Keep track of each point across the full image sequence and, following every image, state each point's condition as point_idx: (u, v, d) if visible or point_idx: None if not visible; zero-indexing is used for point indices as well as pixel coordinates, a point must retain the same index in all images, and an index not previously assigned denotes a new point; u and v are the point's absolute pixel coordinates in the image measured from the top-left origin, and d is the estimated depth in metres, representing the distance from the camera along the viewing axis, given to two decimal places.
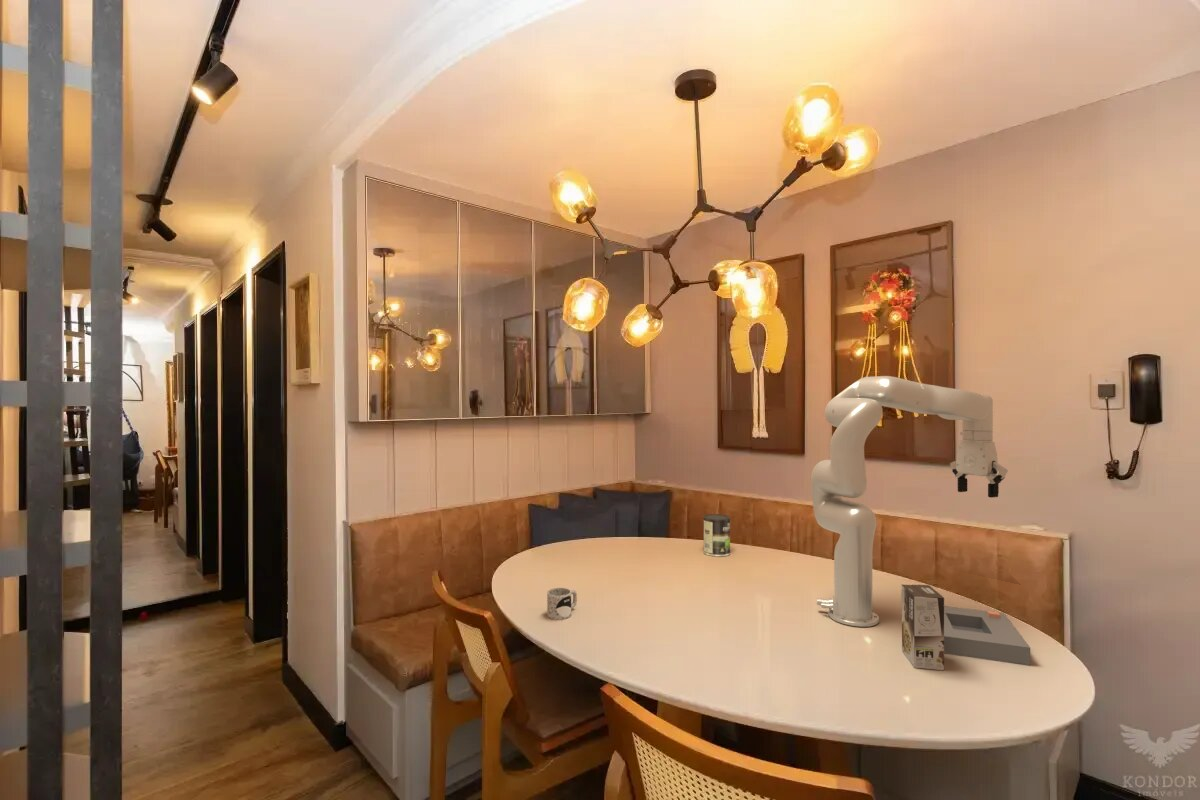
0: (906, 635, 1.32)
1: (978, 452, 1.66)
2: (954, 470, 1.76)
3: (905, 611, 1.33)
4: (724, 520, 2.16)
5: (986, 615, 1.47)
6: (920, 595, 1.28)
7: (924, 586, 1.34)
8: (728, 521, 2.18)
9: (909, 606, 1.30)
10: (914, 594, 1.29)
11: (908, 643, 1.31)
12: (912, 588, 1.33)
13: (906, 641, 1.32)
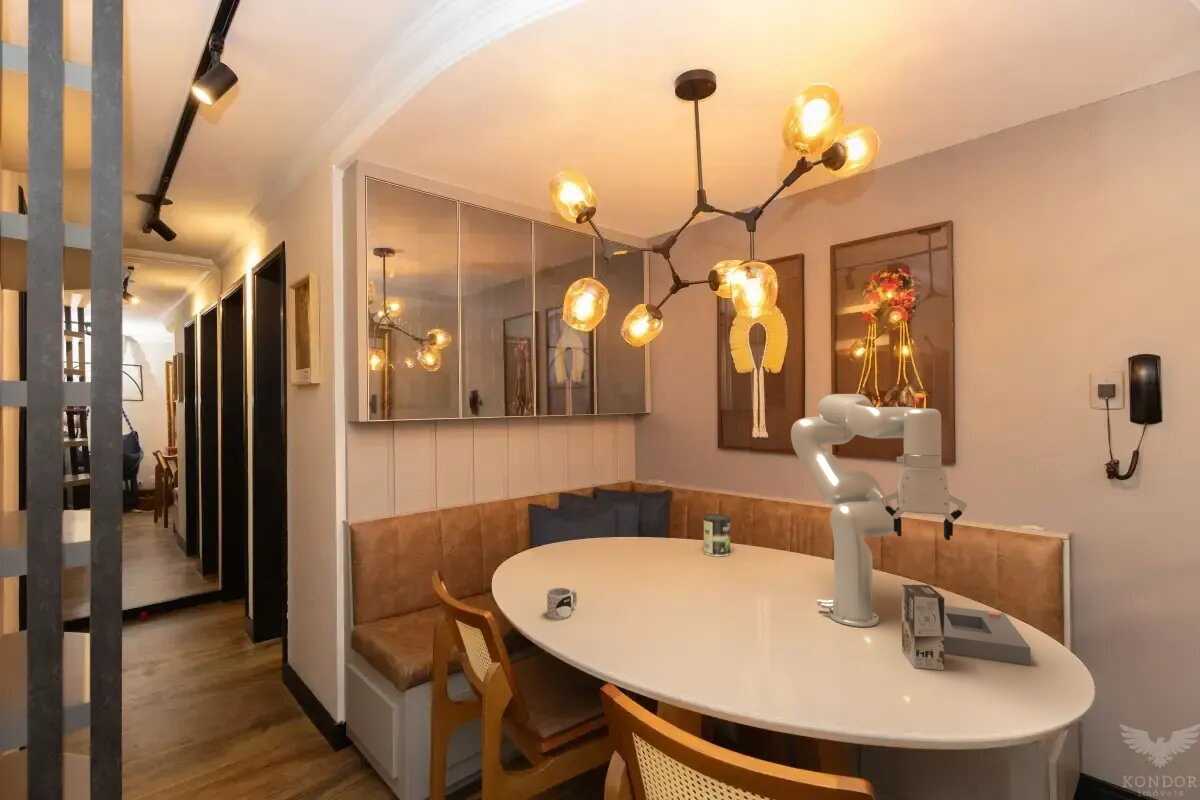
0: (906, 635, 1.32)
1: (937, 483, 1.27)
2: (889, 508, 1.33)
3: (905, 611, 1.33)
4: (724, 520, 2.16)
5: (986, 615, 1.47)
6: (920, 595, 1.28)
7: (924, 586, 1.34)
8: (728, 521, 2.18)
9: (909, 606, 1.30)
10: (914, 594, 1.29)
11: (908, 643, 1.31)
12: (912, 588, 1.33)
13: (906, 641, 1.32)
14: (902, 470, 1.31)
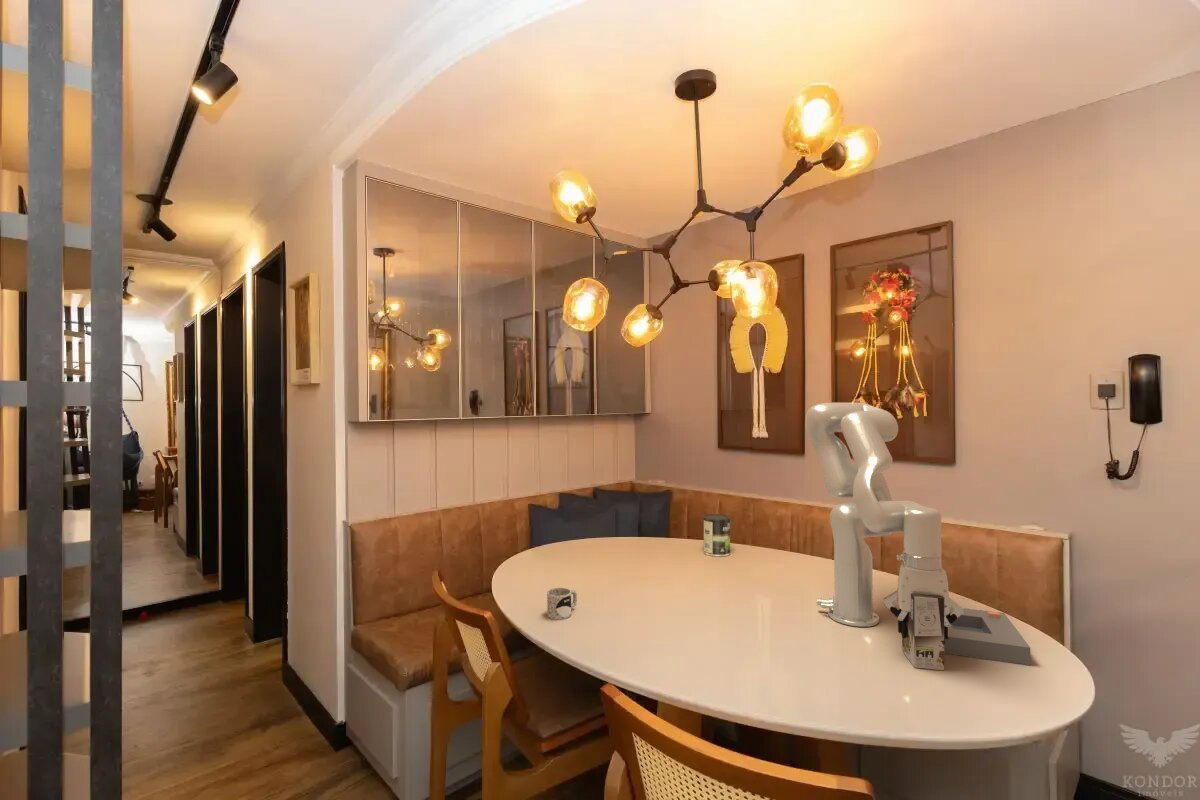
0: (906, 635, 1.32)
1: (937, 585, 1.28)
2: (893, 609, 1.33)
3: None
4: (724, 520, 2.16)
5: (986, 615, 1.47)
6: (920, 595, 1.28)
7: None
8: (728, 521, 2.18)
9: None
10: (915, 594, 1.29)
11: (908, 643, 1.31)
12: None
13: (906, 641, 1.32)
14: (902, 569, 1.31)
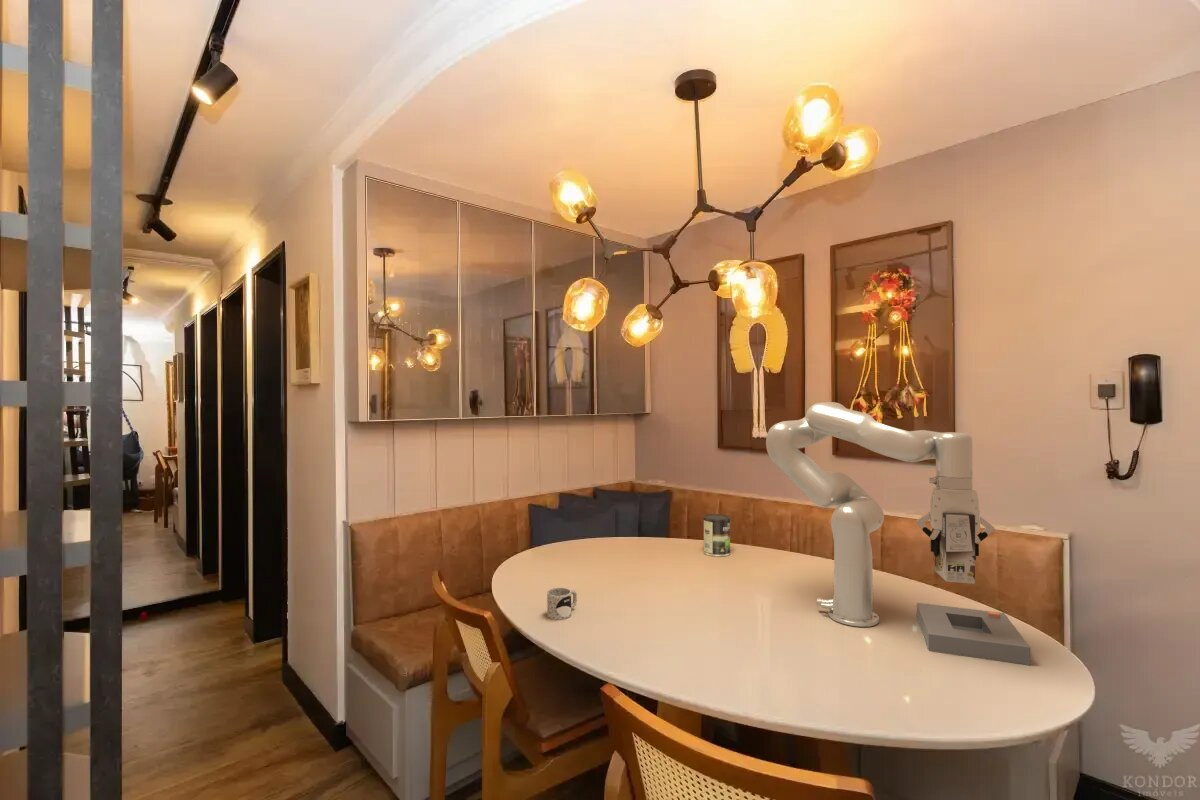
0: (939, 554, 1.39)
1: (968, 504, 1.35)
2: (926, 529, 1.40)
3: None
4: (724, 520, 2.16)
5: (986, 615, 1.47)
6: (952, 513, 1.35)
7: None
8: (728, 521, 2.18)
9: None
10: (946, 513, 1.36)
11: (940, 561, 1.38)
12: None
13: (939, 560, 1.39)
14: (934, 491, 1.38)
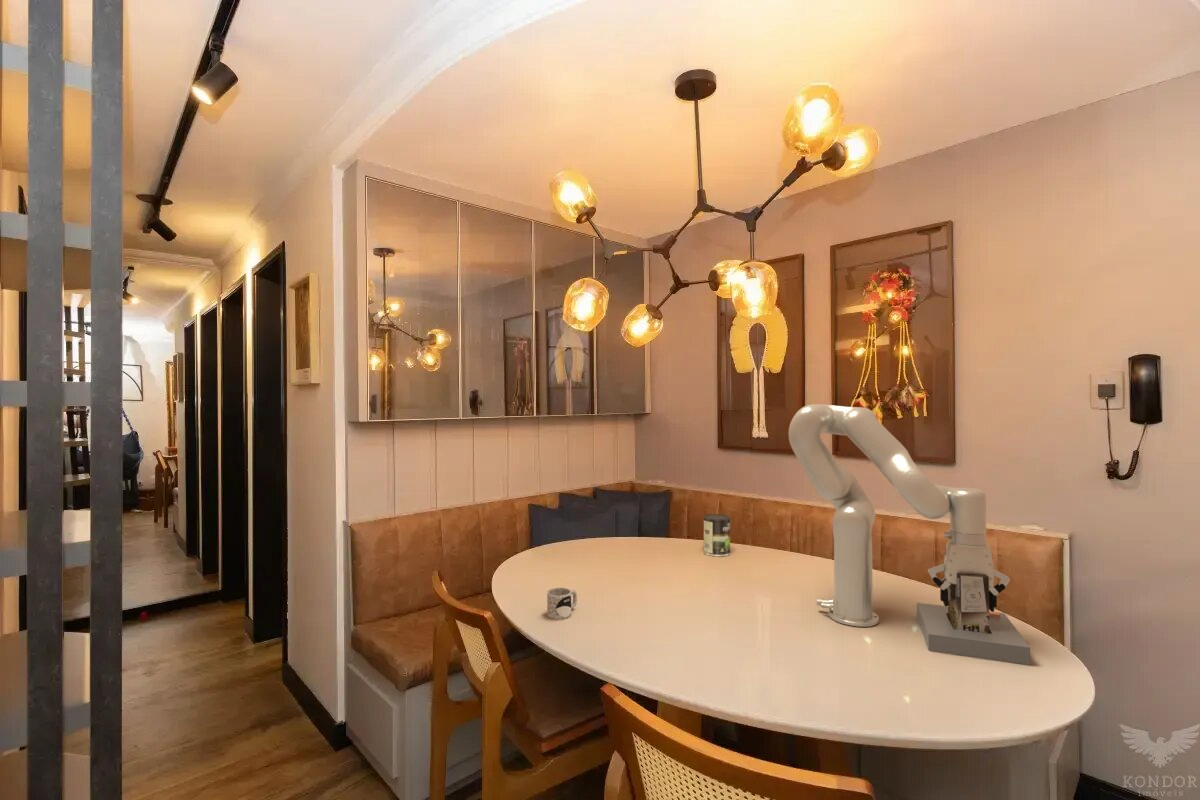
0: (953, 612, 1.43)
1: (982, 559, 1.39)
2: (936, 579, 1.44)
3: (951, 590, 1.44)
4: (724, 520, 2.16)
5: None
6: (966, 574, 1.39)
7: None
8: (728, 521, 2.18)
9: (955, 585, 1.41)
10: (960, 573, 1.40)
11: (955, 619, 1.42)
12: None
13: (953, 618, 1.43)
14: (949, 545, 1.42)
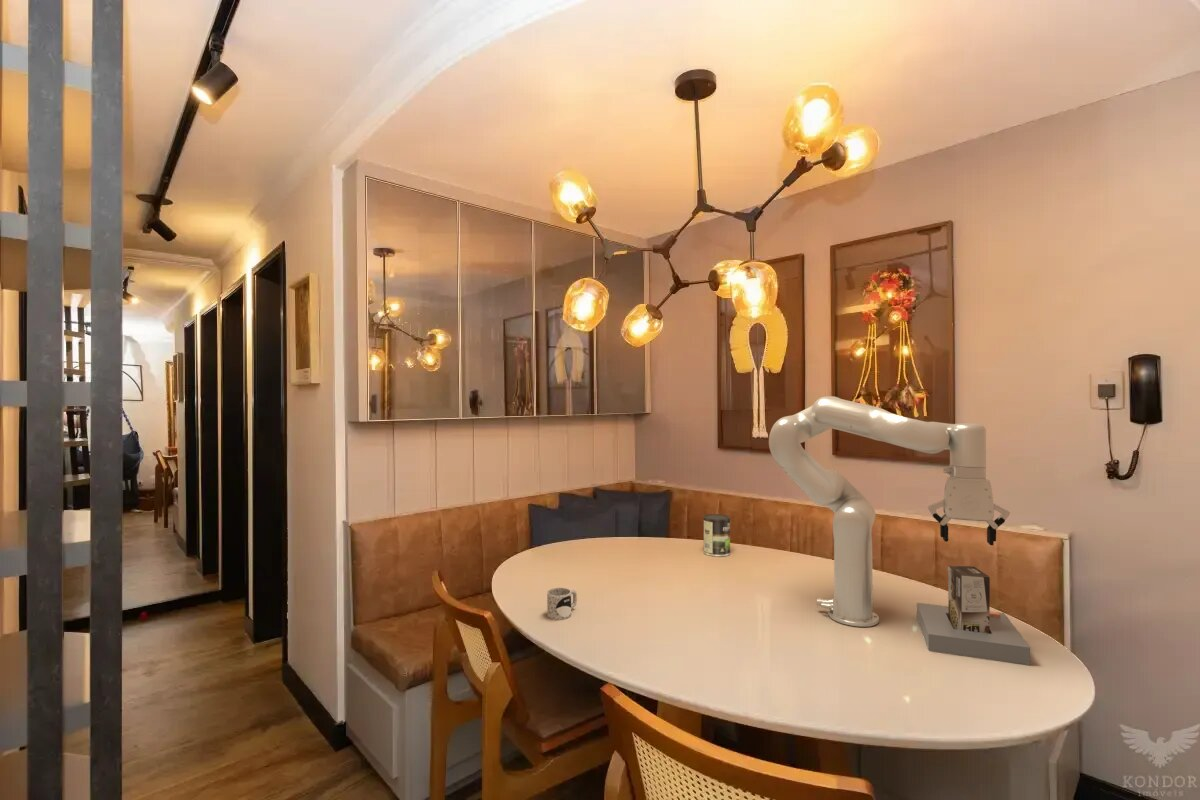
0: (953, 612, 1.43)
1: (982, 493, 1.39)
2: (936, 515, 1.44)
3: (952, 590, 1.44)
4: (724, 520, 2.16)
5: None
6: (967, 574, 1.39)
7: (970, 567, 1.45)
8: (728, 521, 2.18)
9: (956, 585, 1.41)
10: (961, 573, 1.40)
11: (955, 619, 1.42)
12: (958, 568, 1.44)
13: (953, 618, 1.43)
14: (949, 480, 1.42)
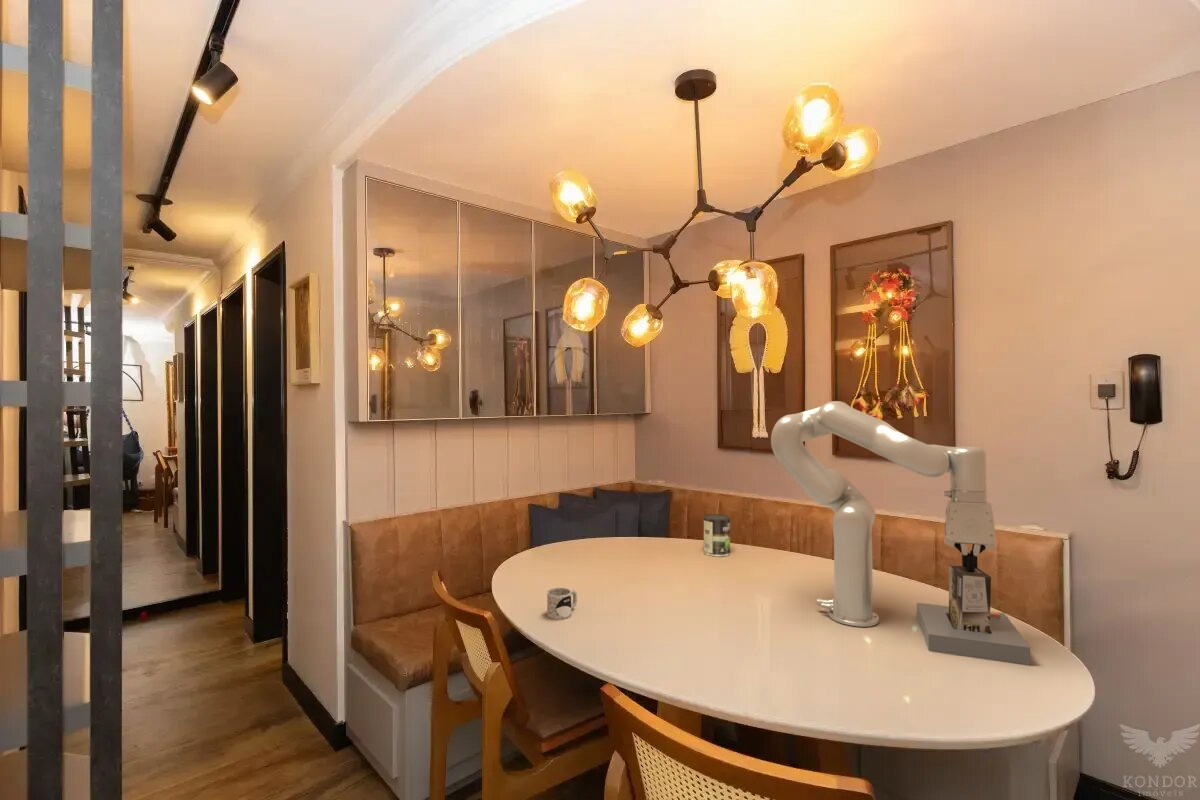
0: (954, 612, 1.43)
1: (983, 516, 1.39)
2: (958, 545, 1.42)
3: (953, 589, 1.44)
4: (724, 520, 2.16)
5: None
6: (968, 574, 1.39)
7: None
8: (728, 521, 2.18)
9: (957, 584, 1.41)
10: (963, 573, 1.40)
11: (955, 619, 1.42)
12: (959, 568, 1.44)
13: (954, 617, 1.43)
14: (950, 504, 1.42)
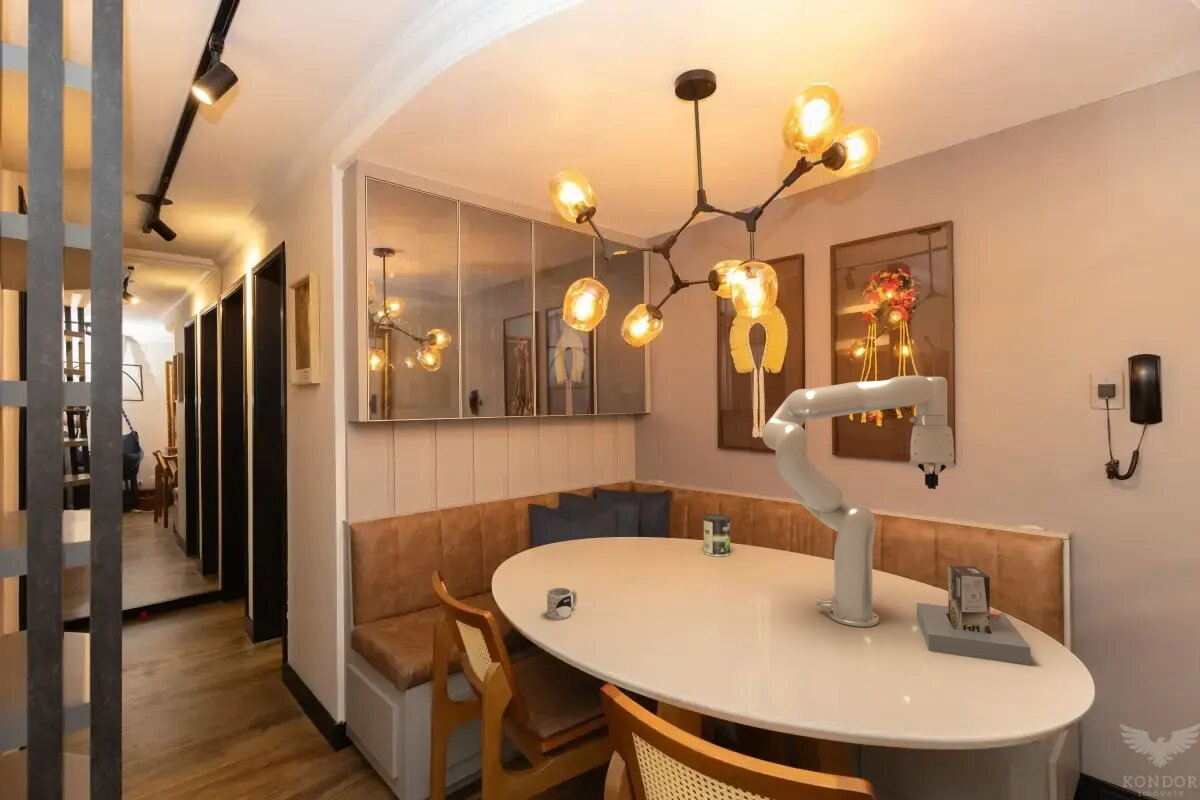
0: (953, 612, 1.43)
1: (943, 438, 1.54)
2: (921, 465, 1.57)
3: (952, 590, 1.44)
4: (724, 520, 2.16)
5: None
6: (967, 574, 1.39)
7: (970, 567, 1.45)
8: (728, 521, 2.18)
9: (956, 585, 1.41)
10: (961, 573, 1.40)
11: (955, 619, 1.42)
12: (958, 568, 1.44)
13: (953, 618, 1.43)
14: (914, 428, 1.57)
